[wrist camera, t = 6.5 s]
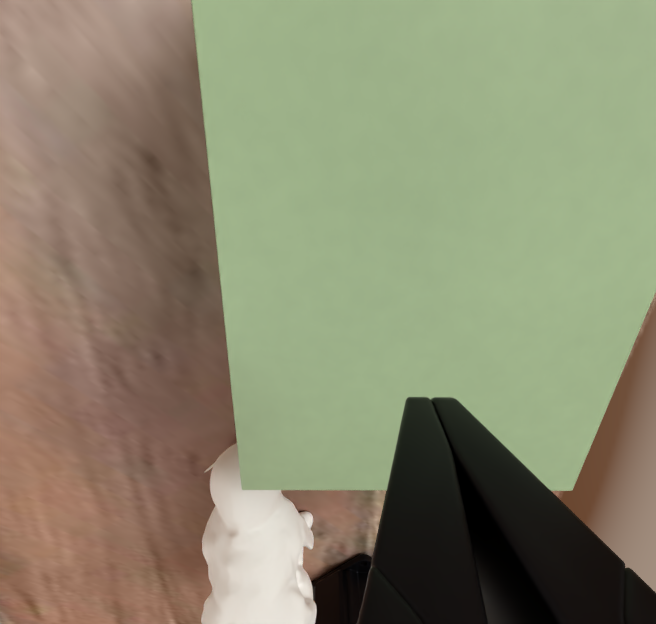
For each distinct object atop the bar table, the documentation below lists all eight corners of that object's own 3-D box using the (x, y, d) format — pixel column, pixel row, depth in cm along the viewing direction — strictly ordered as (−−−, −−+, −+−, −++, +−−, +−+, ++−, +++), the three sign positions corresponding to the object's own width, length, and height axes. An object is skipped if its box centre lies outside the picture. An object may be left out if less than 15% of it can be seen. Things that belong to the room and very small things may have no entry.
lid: (563, 474, 19) (572, 491, 18) (244, 473, 18) (241, 490, 18) (765, -38, 10) (797, -44, 10) (193, -56, 10) (184, -63, 9)
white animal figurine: (197, 699, 25) (143, 549, 19) (227, 551, 32) (194, 413, 27) (318, 694, 24) (298, 542, 19) (319, 546, 32) (305, 407, 27)
